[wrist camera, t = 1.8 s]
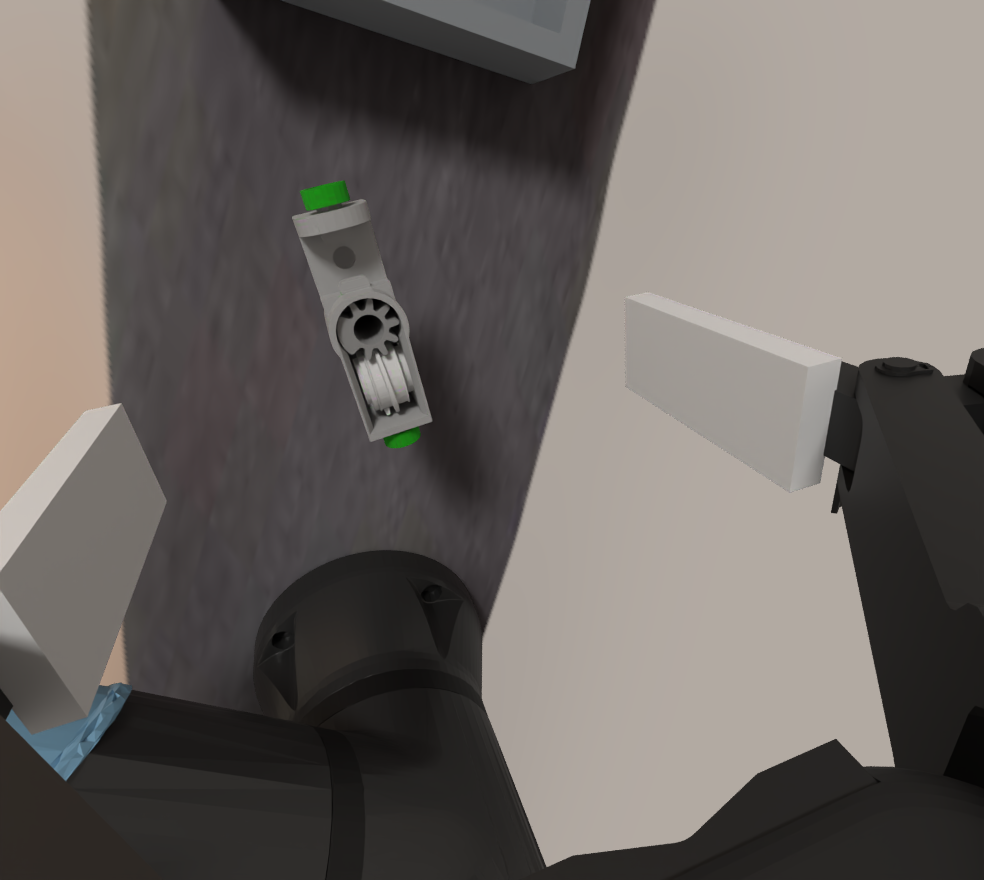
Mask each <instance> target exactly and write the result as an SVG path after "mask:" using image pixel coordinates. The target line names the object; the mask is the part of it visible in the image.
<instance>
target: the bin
mask: <svg viewBox="0 0 984 880" xmlns="http://www.w3.org/2000/svg"><path fill="white" fill-rule="evenodd" d="M281 1H284V2H287V3H290V4H293V5H296V6H299V7H302V8H305V9H308V10H311V11H314V12H317V13H320V14H323V15H326V16H329V17H332V18H335V19H338V20H341V21H344V22H347V23H350V24H353V25H356V26H359V27H362V28H365V29H368V30H371V31H374V32H377V33H380V34H383V35H386V36H389V37H392V38H395V39H398V40H401V41H404V42H407V43H410V44H413V45H416V46H419V47H422V48H425V49H428V50H431V51H434V52H437V53H440V54H443V55H446V56H449V57H452V58H455V59H458V60H461V61H464V62H467V63H470V64H473V65H476V66H479V67H482V68H484V69H487V70H490V71H493V72H496V73H499V74H502V75H505V76H508V77H511V78H514V79H517V80H520V81H523V82H526V83H529V84H534V83H537V82H540V81H542V80H545V79H548V78H551V77H554V76H556V75H559V74H562V73H565V72H567V71H570V70H573V69H575V66H576V62H577V57H578V53H579V49H580V44H581V40H582V36H583V31H584V27H585V23H586V18H587V14H588V9H589V5H590V1H591V0H281Z"/></svg>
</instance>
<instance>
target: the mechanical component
mask: <svg viewBox="0 0 984 880" xmlns="http://www.w3.org/2000/svg"><path fill="white" fill-rule="evenodd" d="M300 193H301V196H302V199H303V202H304V205H305V208H306V210H314V209H316V211H312V212H308V213H304V214H300V215H296V216H292V218H293V221H294V224H295V227H296V230H297V233H298V235H299V238H300V241H301V244H302V247H303V249H304V252H305V255H306V258H307V261H308V264H309V266H310V269H311V272H312V275H313V278H314V281H315V284H316V286H317V289H318V292H319V295H320V298H321V302H322V304H323V307H324V315H325V321H326V325H327V329H328V333H329V337H330V340H331V343H332V346H333V348H334V350H335V352H336V353H337V354H338V355H339V356H340V358H341V360H342V363H343V365H344V368H345V371H346V374H347V377H348V380H349V383H350V385H351V388H352V391H353V394H354V397H355V400H356V402H357V405H358V408H359V411H360V414H361V417H362V420H363V422H364V425H365V428H366V431H367V434H368V437H369V439H370V442H372V441H375V440H378V439H381V438H383V439H384V441H385V444H386V446H387V447H389V448H401V447H405V446H408V445H410V444H412V443H414V442H416V441H417V440H418V439H419V438H420V435H421V433H420V430H419V427H418V426H420V425H423V424H426V423H429V422H432V418H431V414H430V411H429V407H428V404H427V400H426V397H425V393H424V390H423V386H422V383H421V379H420V375H419V372H418V368H417V365H416V361H415V358H414V354H413V351H412V347H411V344H410V340H409V323H408V320H407V316H406V314H405V312H404V311H403V309H402V308H401V306H400V305H399V304H398V303H397V302H396V300H395V297H394V294H393V290H392V287H391V283H390V281H389V280H388V279H387V277H386V273H385V270H384V266H383V263H382V259H381V256H380V252H379V249H378V246H377V242H376V239H375V235H374V232H373V228H372V225H371V221H370V219H371V216H370V213H369V209H368V206H367V202H366V200H363V199H361V200H357V201H352V202H348V203H344V204H341V203H343V202H346V201H349V200H350V197H349V194H348V190H347V187H346V184H345V181H339V182H334V183H329V184H325V185H321V186H317V187H313V188H309V189H305V190H302V191H300Z"/></svg>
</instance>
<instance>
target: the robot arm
mask: <svg viewBox="0 0 984 880" xmlns="http://www.w3.org/2000/svg"><path fill="white" fill-rule="evenodd" d="M625 369H626V370H625V374H626V376H625V377H626V387H627V388H628V389H630V390H632V391H633V392H635V393H636V394H638V395H639V396H641V397H642V398H644V399H645V400H647V401H649V402H650V403H652V404H653V405H655V406H656V407H658V408H660V409H661V410H662V411H664V412H666V413H667V414H669V415H670V416H672V417H673V418H675V419H676V420H678V421H680V422H681V423H683V424H684V425H686V426H687V427H689V428H690V429H692V430H694V431H695V432H697V433H698V434H700V435H701V436H703V437H704V438H706V439H707V440H709V441H710V442H712V443H714V444H715V445H717V446H718V447H720V448H721V449H723V450H724V451H726V452H727V453H729V454H731V455H732V456H734V457H735V458H737V459H739V460H740V461H741V462H743V463H745V464H746V465H748V466H749V467H751V468H752V469H754V470H755V471H757V472H758V473H760V474H762V475H763V476H765V477H766V478H768V479H769V480H771V481H772V482H774V483H775V484H777V485H779V486H780V487H782V488H783V489H785V490H786V491H788V492H794V491H797V490H800V489H803V488H806V487H809V486H812V485H815V484H818V483H820V481H821V475H822V469H823V464H824V458H825V456H826V457H828V458H830V459H832V460H833V461H835V462H837V463H839V464H840V468H839V473H838V479H837V484H836V489H835V495H834V500H833V505H832V510H831V513H837V512H838V509H839V507H841V506H842V509H843V514H844V519H845V523H846V529H847V533H848V538H849V543H850V548H851V553H852V558H853V563H854V567H855V572H856V577H857V582H858V587H859V592H860V597H861V601H862V606H863V611H864V616H865V621H866V626H867V630H868V635H869V640H870V645H871V650H872V655H873V659H874V664H875V669H876V674H877V679H878V684H879V689H880V693H881V698H882V703H883V708H884V713H885V718H886V723H887V728H888V732H889V737H890V741H891V747H892V752H893V757H894V764H895V767H872V766H870V767H863V766H862V765H861V764H860V763H859V762H858V761H857V760H856V759H855V758H854V757H853V756H852V755H851V754H850V753H849V752H848V751H847V750H846V749H845V748H844V747H843V746H842V745H841V744H840V743H839V742H838V741H837V739H834V740H832V741H830V742H828V743H825V744H823V745H821V746H819V747H816V748H814V749H812V750H810V751H808V752H805V753H803V754H801V755H798V756H796V757H794V758H792V759H789V760H787V761H785V762H783V763H780V764H778V765H776V766H774V767H771V768H769V769H767V770H765V771H762V772H760V773H758V774H757V775H755V777H753V778H752V779H751V780H750V781H749V782H748V783H747V784H746V785H745V786H744V787H743V788H742V789H741V790H740V791H739V792H738V793H737V794H735V796H733V797H732V798H731V799H730V800H729V801H728V802H727V803H726V804H725V805H724V806H723V807H722V808H721V809H720V810H719V811H718V812H717V813H716V814H714V816H713V817H711V818H710V819H709V820H708V821H707V822H706V823H705V824H704V825H703V826H702V827H701V828H700V829H699V830H698V831H697V832H696V833H694V834H693V835H692V836H691V837H690V838H688V839H686V840H684V841H681V842H678V843H672V844H664V845H655V846H647V847H639V848H631V849H623V850H615V851H607V852H599V853H591V854H583V855H575V856H571V857H569V858H567V859H565V860H562V861H560V862H558V863H556V864H554V865H551V866H549V867H546V865H545V862H544V859H543V857H542V854H541V852H540V849H539V847H538V844H537V842H536V839H535V837H534V834H533V831H532V829H531V826H530V824H529V821H528V818H527V816H526V813H525V810H524V808H523V806H522V803H521V800H520V798H519V795H518V792H517V790H516V787H515V785H514V782H513V780H512V777H511V774H510V772H509V769H508V767H507V764H506V761H505V759H504V756H503V754H502V751H501V749H500V746H499V743H498V741H497V738H496V736H495V733H494V731H493V728H492V725H491V723H490V721H489V718H488V715H487V713H486V710H485V707H484V704H483V701H482V692H481V691H482V631H481V625H480V621H479V617H478V614H477V611H476V609H475V607H474V604H473V602H472V600H471V597H470V595H469V593H468V591H467V589H466V587H465V586H464V584H463V583H462V581H461V580H460V579H459V578H458V577H457V576H456V575H455V574H454V573H453V572H452V571H451V570H449V569H448V568H447V567H445V566H444V565H442V564H440V563H439V562H437V561H435V560H432V559H430V558H428V557H425V556H422V555H418V554H414V553H409V552H403V551H391V550H382V551H369V552H362V553H357V554H353V555H349V556H345V557H342V558H339V559H336V560H333V561H331V562H328V563H326V564H324V565H322V566H319V567H318V568H316V569H314V570H312V571H310V572H309V573H307V574H305V575H304V576H302V577H301V578H300V579H298V580H297V581H295V582H294V583H293V584H292V585H290V586H289V587H288V588H287V589H286V590H285V591H284V592H283V593H282V594H281V595H280V596H279V597H278V598H277V599H276V601H275V602H274V603H273V604H272V606H271V607H270V609H269V610H268V611H267V613H266V615H265V617H264V618H263V621H262V623H261V625H260V627H259V630H258V633H257V637H256V642H255V652H254V667H253V680H254V687H255V692H256V696H257V699H258V702H259V704H260V706H261V709H262V711H263V714H264V716H263V715H257V714H252V713H247V712H242V711H237V710H232V709H227V708H222V707H217V706H211V705H206V704H201V703H196V702H191V701H186V700H181V699H176V698H171V697H165V696H160V695H155V694H150V693H145V692H140V691H135V690H132V686H131V685H126V684H122V683H116V684H112V685H109V686H102V685H99V684H100V681H101V678H102V676H103V673H104V670H105V668H106V665H107V662H108V659H109V657H110V654H111V651H112V649H113V646H114V643H115V640H116V638H117V635H118V632H119V630H120V627H121V624H122V622H123V619H124V616H125V613H126V611H127V608H128V605H129V603H130V600H131V597H132V595H133V592H134V589H135V586H136V584H137V581H138V578H139V576H140V573H141V570H142V567H143V565H144V562H145V559H146V557H147V554H148V551H149V548H150V546H151V543H152V540H153V538H154V535H155V532H156V529H157V527H158V524H159V521H160V519H161V516H162V513H163V511H164V508H165V505H166V502H167V501H166V498H165V496H164V494H163V492H162V490H161V488H160V485H159V483H158V481H157V479H156V477H155V475H154V473H153V470H152V468H151V466H150V464H149V462H148V460H147V457H146V455H145V453H144V451H143V449H142V447H141V444H140V442H139V440H138V438H137V436H136V434H135V431H134V429H133V427H132V425H131V423H130V421H129V419H128V416H127V414H126V412H125V410H124V408H123V406H122V403H120V404H115V405H111V406H106V407H101V408H97V409H92V410H87V411H85V412H84V413H83V414H82V415H81V417H80V418H79V419H78V420H77V421H76V422H75V423H74V425H73V426H72V427H71V428H70V429H69V431H68V432H67V433H66V434H65V435H64V436H63V438H62V439H61V440H60V441H59V443H58V444H57V445H56V446H55V447H54V449H53V450H52V451H51V452H50V453H49V454H48V456H47V457H46V458H45V459H44V460H43V461H42V463H41V464H40V465H39V466H38V467H37V468H36V470H35V471H34V472H33V473H32V474H31V476H30V477H29V478H28V479H27V480H26V482H25V483H24V484H23V485H22V486H21V487H20V489H19V490H18V491H17V492H16V493H15V494H14V496H13V497H12V498H11V499H10V500H9V502H8V503H7V504H6V505H5V506H4V507H3V509H2V510H1V511H0V880H984V348H981V349H978V350H975V351H973V352H972V354H971V356H970V359H969V363H968V366H967V370H966V373H965V374H964V375H953V376H943V375H942V373H941V372H940V371H939V370H938V369H936V368H935V367H934V366H931V365H930V364H928V363H923V362H918V361H914V360H912V359H908V358H900V357H892V358H883V359H874V360H869V361H866V362H864V363H862V364H860V365H859V367H856V366H854V365H850V364H848V363H845V362H842V358H840V357H837V356H834V355H831V354H828V353H825V352H822V351H819V350H816V349H814V348H810V347H808V346H805V345H802V344H799V343H796V342H793V341H790V340H787V339H784V338H781V337H778V336H775V335H772V334H770V333H767V332H764V331H761V330H758V329H755V328H752V327H749V326H746V325H743V324H740V323H737V322H734V321H732V320H729V319H726V318H723V317H720V316H717V315H714V314H711V313H708V312H705V311H702V310H699V309H696V308H694V307H691V306H688V305H684V304H682V303H679V302H676V301H673V300H670V299H667V298H664V297H661V296H658V295H655V294H653V293H649V292H647V293H642V294H637V295H632V296H628V297H625Z"/></svg>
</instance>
